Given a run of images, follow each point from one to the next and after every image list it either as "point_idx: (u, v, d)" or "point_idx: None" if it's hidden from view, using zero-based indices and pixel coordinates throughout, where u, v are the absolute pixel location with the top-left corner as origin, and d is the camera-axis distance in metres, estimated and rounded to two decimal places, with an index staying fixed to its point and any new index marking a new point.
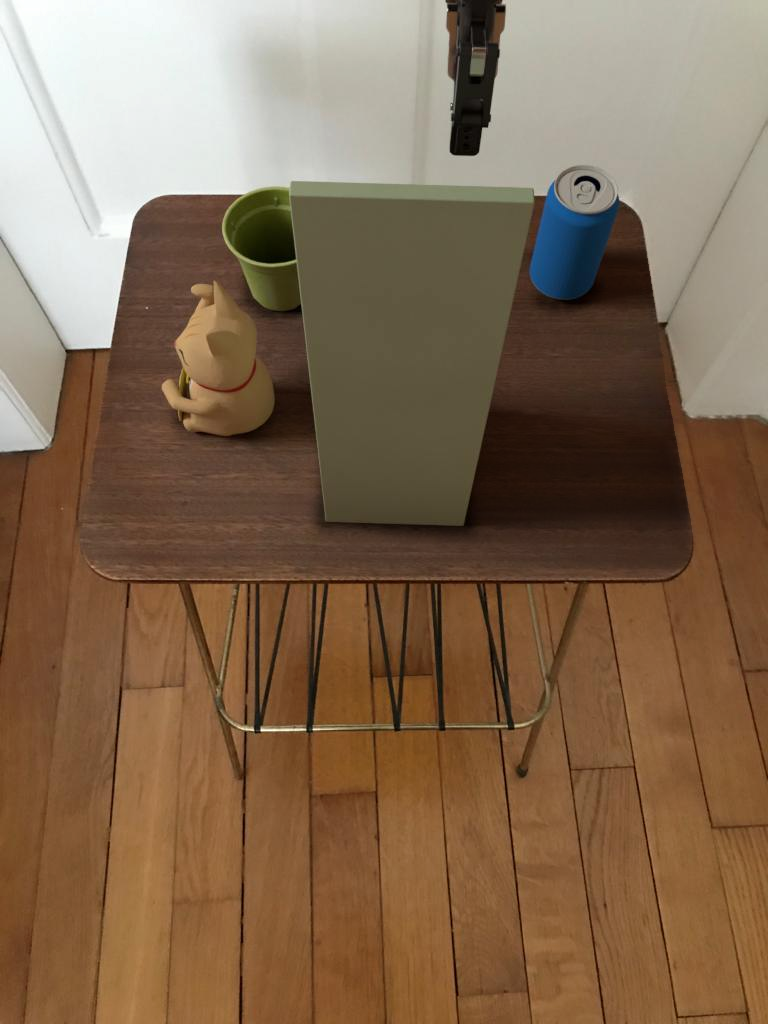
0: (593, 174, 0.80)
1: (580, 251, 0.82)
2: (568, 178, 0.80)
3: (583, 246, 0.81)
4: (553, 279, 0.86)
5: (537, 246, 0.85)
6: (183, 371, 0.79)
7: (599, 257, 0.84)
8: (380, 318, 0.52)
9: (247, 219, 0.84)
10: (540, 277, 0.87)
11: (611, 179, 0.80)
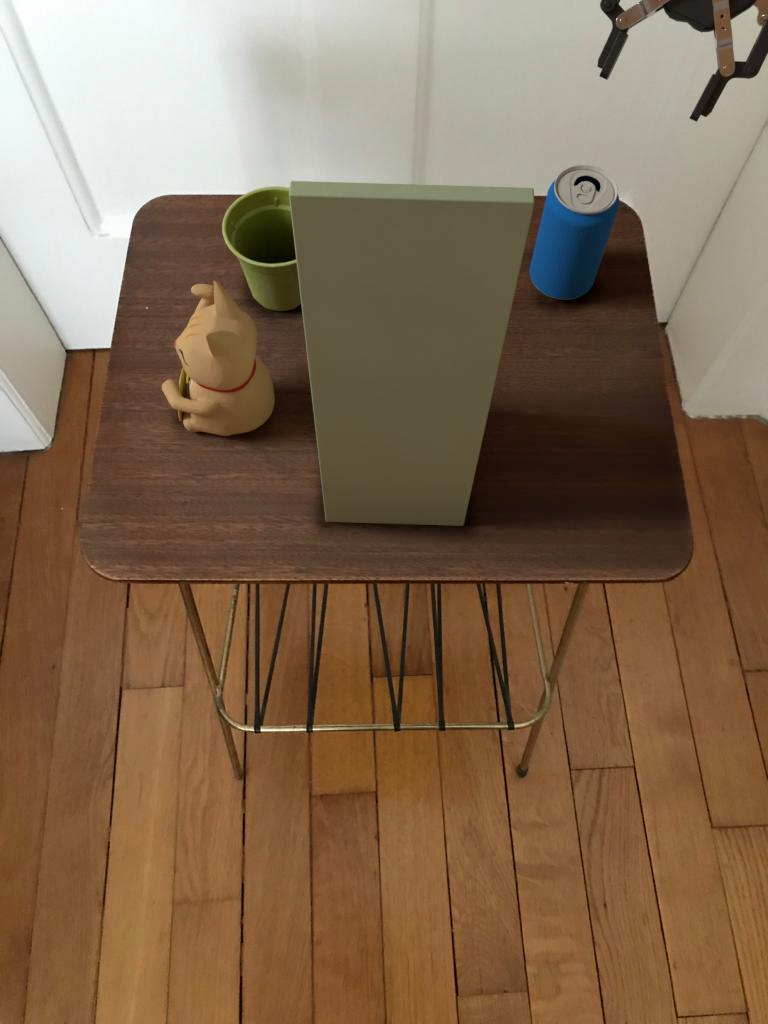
0: (593, 174, 0.80)
1: (580, 251, 0.82)
2: (568, 178, 0.80)
3: (583, 246, 0.81)
4: (553, 279, 0.86)
5: (537, 246, 0.85)
6: (183, 371, 0.79)
7: (599, 257, 0.84)
8: (380, 318, 0.52)
9: (247, 219, 0.84)
10: (540, 277, 0.87)
11: (611, 179, 0.80)
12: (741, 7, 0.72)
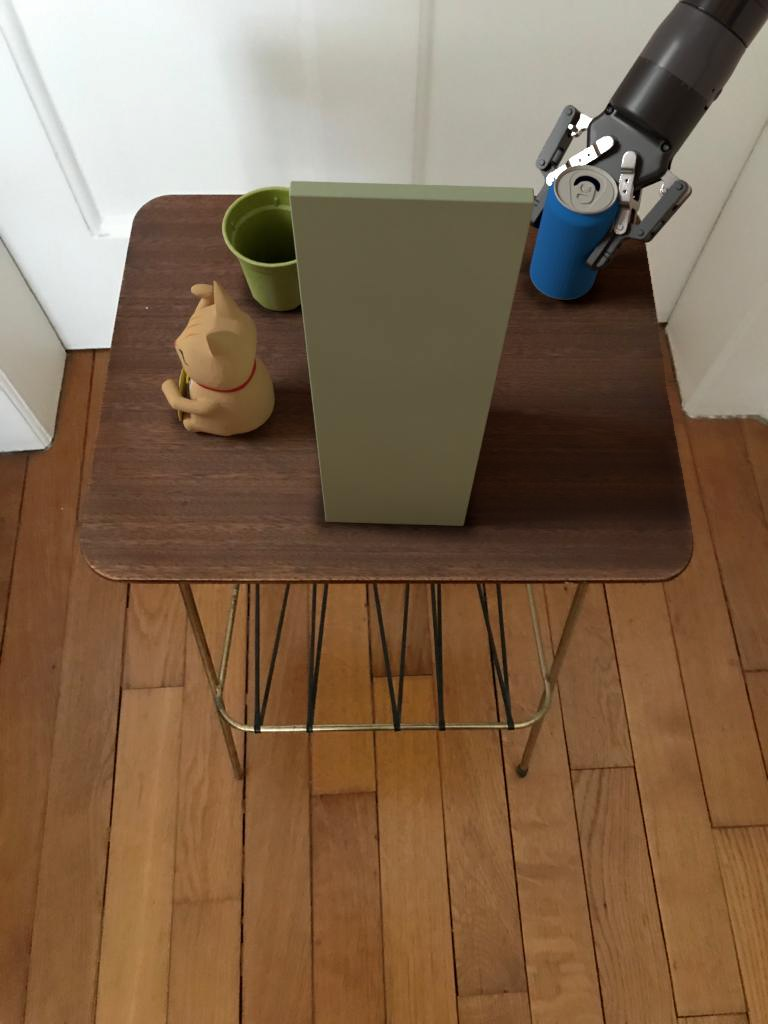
0: (593, 174, 0.80)
1: (580, 251, 0.82)
2: (568, 178, 0.80)
3: (583, 246, 0.81)
4: (553, 279, 0.86)
5: (537, 246, 0.85)
6: (183, 371, 0.79)
7: None
8: (380, 318, 0.52)
9: (247, 219, 0.84)
10: (540, 277, 0.87)
11: (611, 179, 0.80)
12: (649, 176, 0.78)
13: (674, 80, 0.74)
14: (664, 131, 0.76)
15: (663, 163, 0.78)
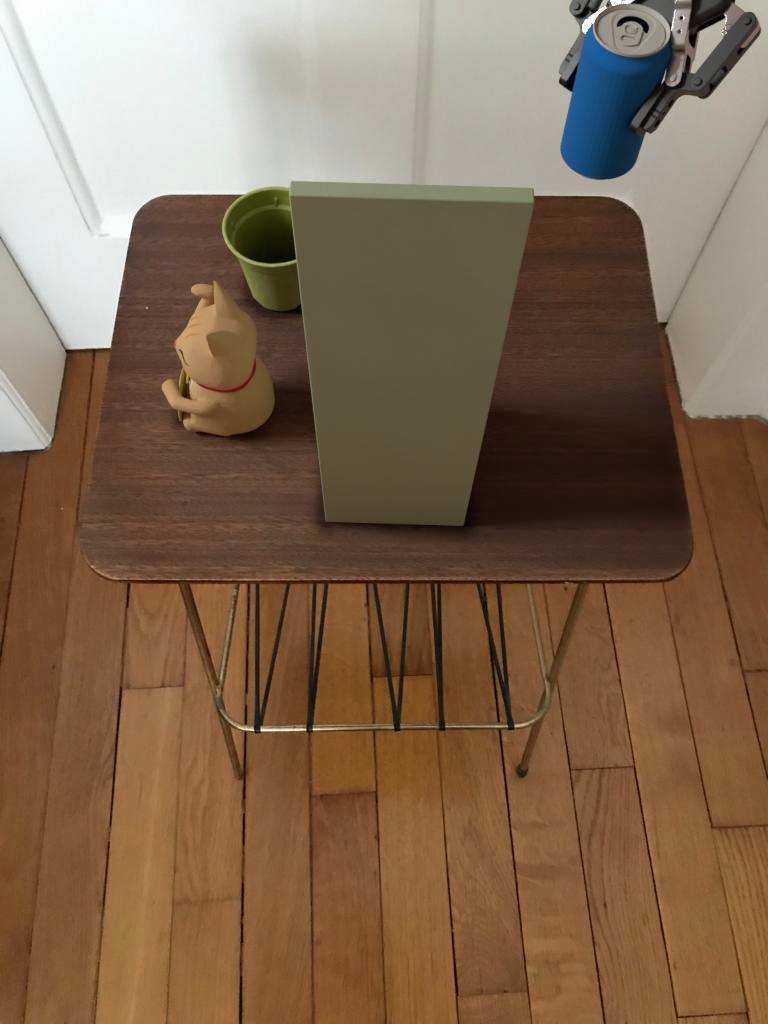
0: (640, 14, 0.66)
1: (624, 110, 0.68)
2: (610, 19, 0.66)
3: (628, 103, 0.67)
4: (590, 152, 0.72)
5: (570, 112, 0.71)
6: (183, 371, 0.79)
7: None
8: (380, 318, 0.52)
9: (247, 219, 0.84)
10: (573, 152, 0.73)
11: (662, 19, 0.66)
12: (709, 12, 0.64)
13: None
14: None
15: None
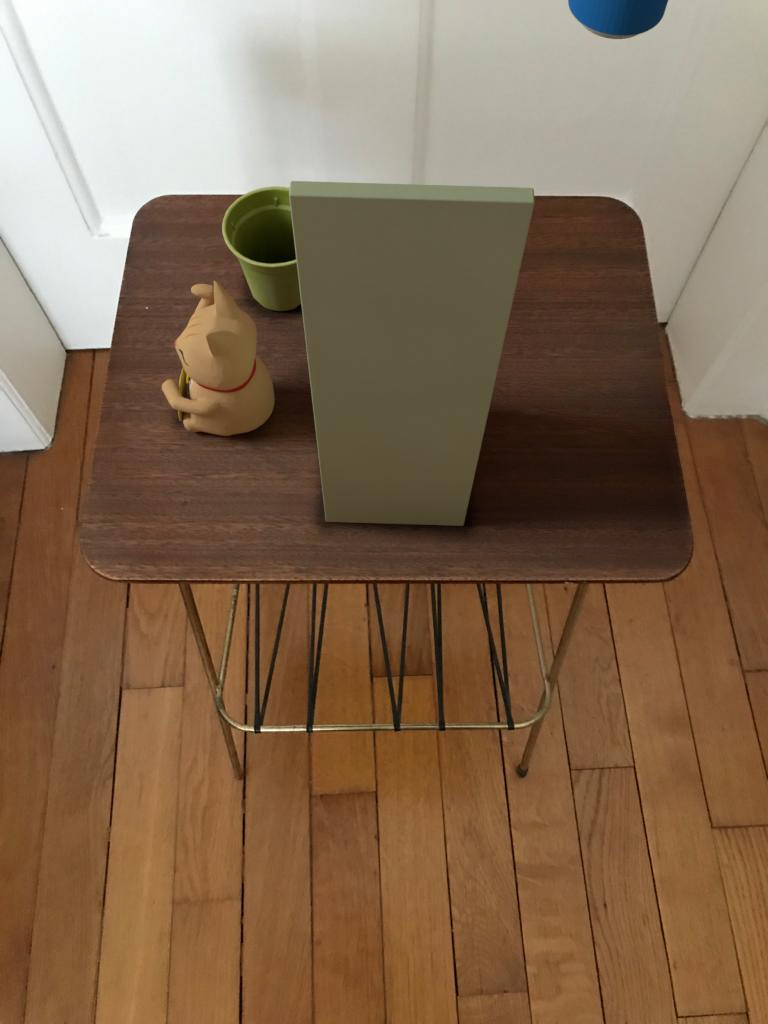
0: None
1: None
2: None
3: None
4: None
5: None
6: (183, 371, 0.79)
7: None
8: (380, 318, 0.52)
9: (247, 219, 0.84)
10: None
11: None
12: None
13: None
14: None
15: None
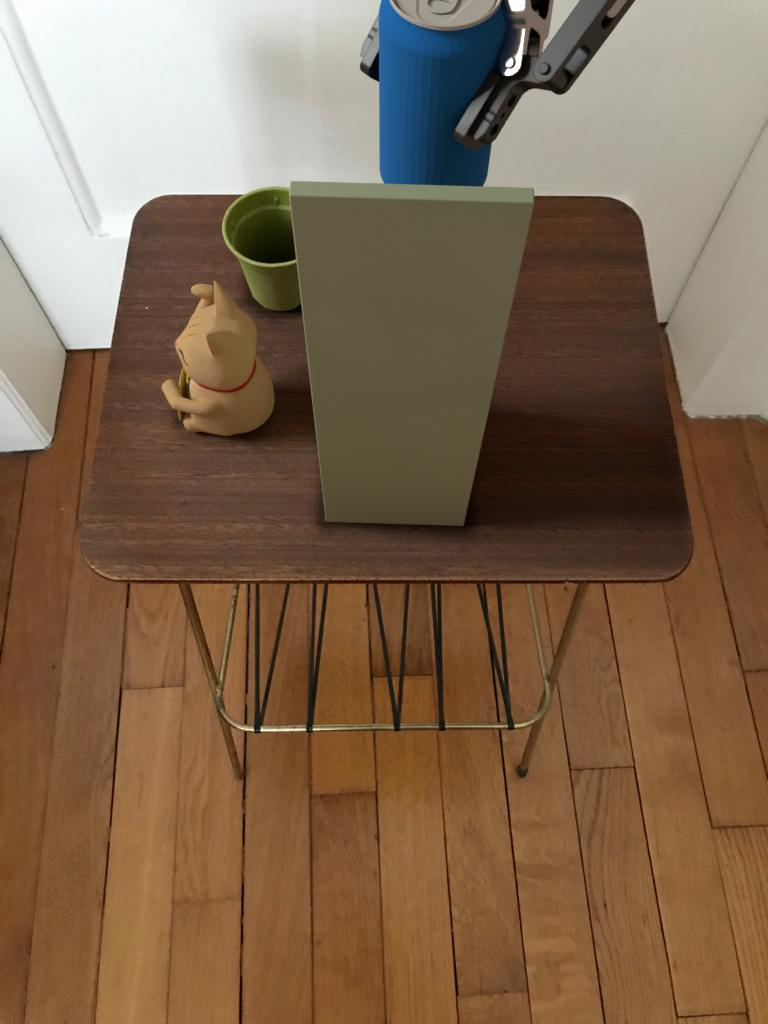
0: None
1: (443, 110, 0.46)
2: None
3: (447, 101, 0.45)
4: (409, 171, 0.50)
5: (379, 112, 0.49)
6: (183, 371, 0.79)
7: None
8: (380, 318, 0.52)
9: (247, 219, 0.84)
10: (390, 170, 0.51)
11: None
12: None
13: None
14: None
15: None
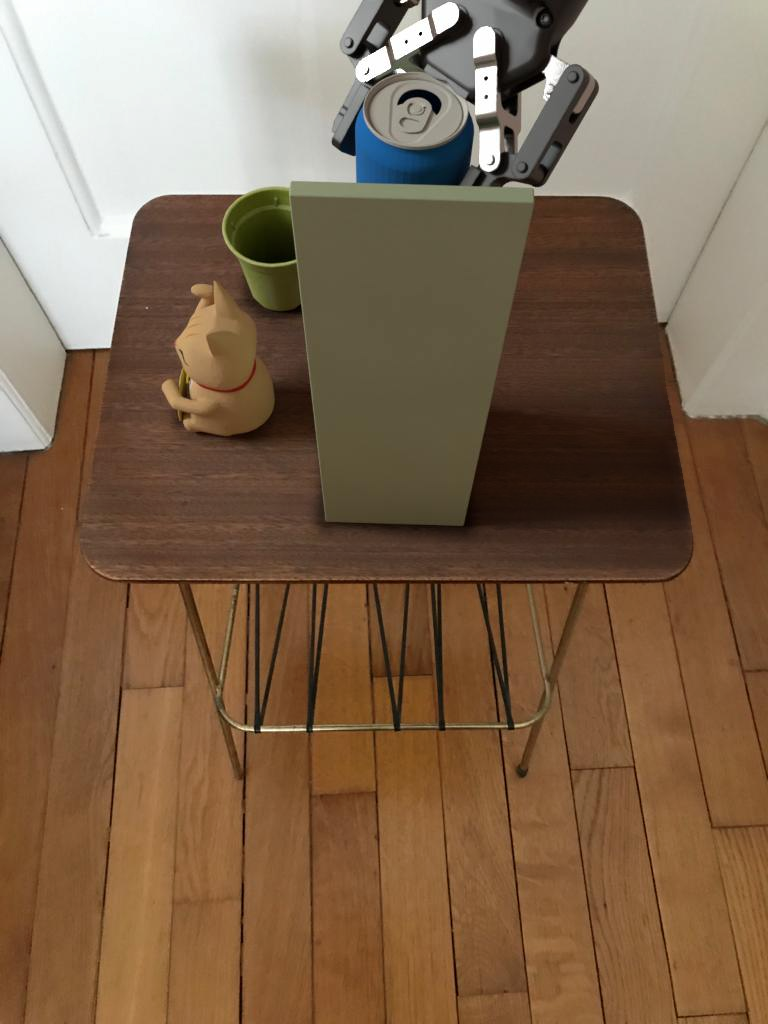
0: (431, 87, 0.49)
1: None
2: (389, 94, 0.48)
3: None
4: None
5: None
6: (183, 371, 0.79)
7: None
8: (380, 318, 0.52)
9: (247, 219, 0.84)
10: None
11: None
12: (518, 71, 0.46)
13: None
14: None
15: (541, 44, 0.45)
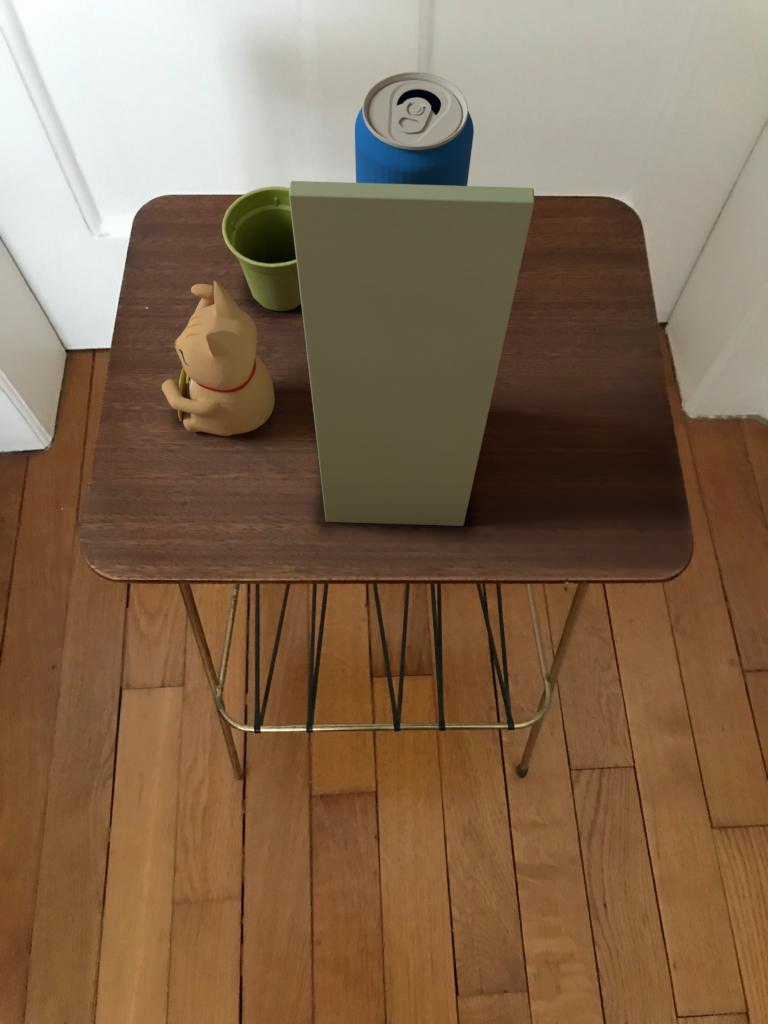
0: (430, 87, 0.49)
1: None
2: (389, 94, 0.48)
3: None
4: None
5: None
6: (183, 371, 0.79)
7: None
8: (380, 318, 0.52)
9: (247, 219, 0.84)
10: None
11: (459, 95, 0.48)
12: None
13: None
14: None
15: None
